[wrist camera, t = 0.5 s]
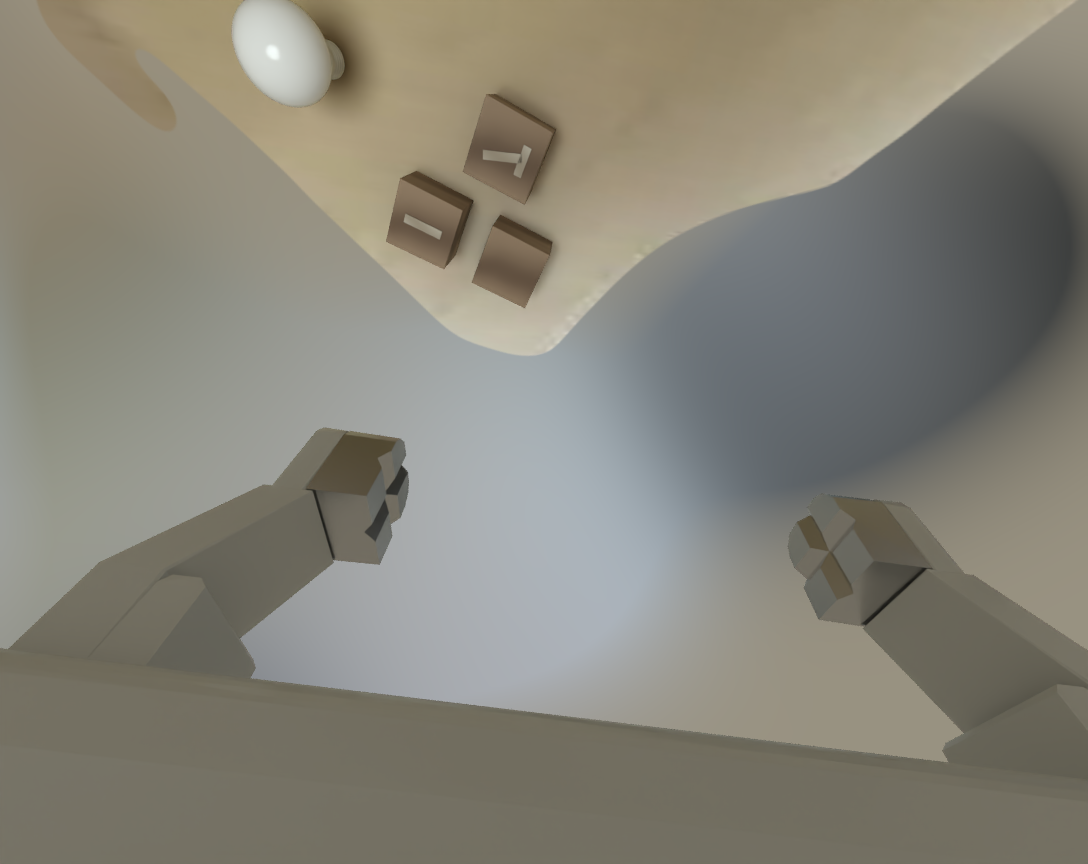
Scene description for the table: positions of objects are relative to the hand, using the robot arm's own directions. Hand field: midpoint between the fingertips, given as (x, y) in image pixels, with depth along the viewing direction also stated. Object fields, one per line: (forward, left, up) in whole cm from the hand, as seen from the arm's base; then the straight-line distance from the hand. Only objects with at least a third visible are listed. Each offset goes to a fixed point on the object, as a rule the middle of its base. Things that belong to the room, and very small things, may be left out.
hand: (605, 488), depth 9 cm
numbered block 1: (+10, -12, -43) cm, 46 cm away
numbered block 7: (+1, -8, -43) cm, 43 cm away
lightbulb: (+2, -25, -43) cm, 49 cm away
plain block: (+10, -3, -43) cm, 44 cm away
